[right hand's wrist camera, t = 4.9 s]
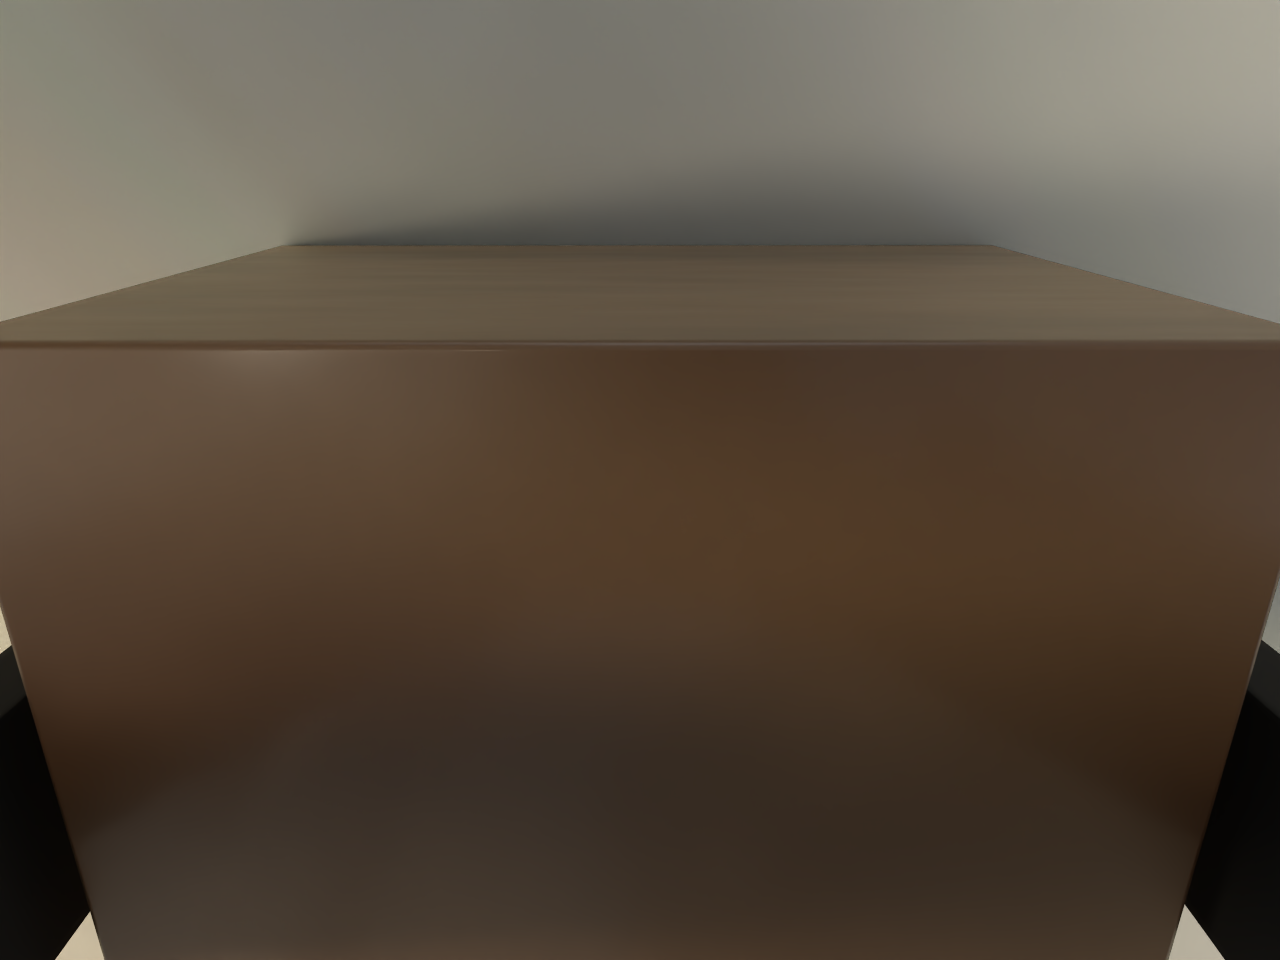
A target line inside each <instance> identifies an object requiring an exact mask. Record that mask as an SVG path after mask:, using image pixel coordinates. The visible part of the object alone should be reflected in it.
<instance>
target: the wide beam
mask: <svg viewBox="0 0 1280 960" xmlns="http://www.w3.org/2000/svg"><path fill="white" fill-rule="evenodd" d="M1279 577H1280V324H1278V323H1274V322H1271V321H1267V320H1263V319H1260V318H1256V317H1252V316H1249V315H1245V314H1241V313H1238V312H1234V311H1230V310H1227V309H1223V308H1219V307H1216V306H1212V305H1208V304H1205V303H1201V302H1197V301H1194V300H1190V299H1186V298H1183V297H1179V296H1175V295H1172V294H1168V293H1164V292H1161V291H1157V290H1153V289H1150V288H1146V287H1142V286H1139V285H1135V284H1131V283H1128V282H1124V281H1120V280H1117V279H1113V278H1109V277H1106V276H1102V275H1098V274H1095V273H1091V272H1087V271H1084V270H1080V269H1076V268H1073V267H1069V266H1065V265H1062V264H1058V263H1054V262H1051V261H1047V260H1043V259H1040V258H1036V257H1032V256H1029V255H1025V254H1021V253H1018V252H1014V251H1010V250H1007V249H1003V248H1000V247H996V246H992V245H633V246H632V245H631V246H279V247H275V248H272V249H268V250H264V251H261V252H257V253H253V254H249V255H246V256H242V257H238V258H235V259H231V260H227V261H224V262H220V263H216V264H213V265H209V266H205V267H201V268H198V269H194V270H190V271H187V272H183V273H179V274H176V275H172V276H168V277H165V278H161V279H157V280H154V281H150V282H146V283H142V284H139V285H135V286H131V287H128V288H124V289H120V290H117V291H113V292H109V293H106V294H102V295H98V296H94V297H91V298H87V299H83V300H80V301H76V302H72V303H69V304H65V305H61V306H58V307H54V308H50V309H47V310H43V311H39V312H35V313H32V314H28V315H24V316H21V317H17V318H13V319H10V320H6V321H2V322H0V607H1V610H2V614H3V617H4V620H5V624H6V627H7V631H8V634H9V637H10V641H11V644H12V648H13V651H14V654H15V658H16V661H17V664H18V668H19V671H20V675H21V678H22V681H23V685H24V688H25V692H26V695H27V698H28V702H29V705H30V709H31V712H32V715H33V719H34V722H35V726H36V729H37V732H38V736H39V739H40V742H41V746H42V749H43V753H44V756H45V759H46V763H47V766H48V770H49V773H50V776H51V780H52V783H53V787H54V790H55V793H56V797H57V800H58V804H59V807H60V810H61V814H62V817H63V820H64V824H65V827H66V831H67V834H68V837H69V841H70V844H71V848H72V851H73V854H74V858H75V861H76V865H77V868H78V871H79V875H80V878H81V882H82V885H83V888H84V892H85V895H86V898H87V902H88V905H89V909H90V912H91V915H92V919H93V922H94V926H95V929H96V932H97V936H98V939H99V943H100V946H101V949H102V953H103V956H104V960H1168V959H1169V956H1170V952H1171V949H1172V945H1173V942H1174V939H1175V935H1176V932H1177V928H1178V925H1179V921H1180V918H1181V914H1182V911H1183V908H1184V904H1185V901H1186V897H1187V894H1188V890H1189V887H1190V883H1191V880H1192V877H1193V873H1194V870H1195V866H1196V863H1197V859H1198V856H1199V853H1200V849H1201V846H1202V842H1203V839H1204V835H1205V832H1206V828H1207V825H1208V822H1209V818H1210V815H1211V811H1212V808H1213V804H1214V801H1215V798H1216V794H1217V791H1218V787H1219V784H1220V780H1221V777H1222V773H1223V770H1224V767H1225V763H1226V760H1227V756H1228V753H1229V749H1230V746H1231V743H1232V739H1233V736H1234V732H1235V729H1236V725H1237V722H1238V718H1239V715H1240V712H1241V708H1242V705H1243V701H1244V698H1245V694H1246V691H1247V687H1248V684H1249V681H1250V677H1251V674H1252V670H1253V667H1254V663H1255V660H1256V657H1257V653H1258V650H1259V646H1260V643H1261V639H1262V636H1263V632H1264V629H1265V626H1266V622H1267V619H1268V615H1269V612H1270V608H1271V605H1272V602H1273V598H1274V595H1275V591H1276V588H1277V584H1278V581H1279Z"/></svg>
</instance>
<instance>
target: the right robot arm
mask: <svg viewBox="0 0 1280 960" xmlns="http://www.w3.org/2000/svg"><path fill="white" fill-rule="evenodd" d="M1185 905H1186V906H1187V908H1188V909H1189V911H1190V912H1191V913H1192V915H1193V916H1194V918H1195V919H1196V920H1197V922H1198V923H1199V924H1200V926H1201V927H1202V929H1203V930H1204V931H1205V933H1206V934H1207V935H1208V937H1209V938H1210V940H1211V941H1212V942H1213V944H1214V945H1215V947H1216V948H1217V949H1218V951H1219V952H1220V953H1221V955H1222V956H1223V958H1224V959H1225V960H1280V654H1279V653H1278V652H1276V651H1275V650H1274V649H1273V648H1271V647H1270V646H1269V645H1268V644H1266V643H1265V642H1264V641H1262V640H1261V643H1260V646H1259V650H1258V653H1257V657H1256V660H1255V663H1254V667H1253V670H1252V674H1251V677H1250V681H1249V684H1248V687H1247V691H1246V694H1245V698H1244V701H1243V705H1242V708H1241V712H1240V715H1239V718H1238V722H1237V725H1236V729H1235V732H1234V736H1233V739H1232V743H1231V746H1230V749H1229V753H1228V756H1227V760H1226V763H1225V767H1224V770H1223V773H1222V777H1221V780H1220V784H1219V787H1218V791H1217V794H1216V798H1215V801H1214V804H1213V808H1212V811H1211V815H1210V818H1209V822H1208V825H1207V828H1206V832H1205V835H1204V839H1203V842H1202V846H1201V849H1200V853H1199V856H1198V859H1197V863H1196V866H1195V870H1194V873H1193V877H1192V880H1191V883H1190V887H1189V890H1188V894H1187V897H1186V901H1185ZM89 912H90V909H89V905H88V902H87V898H86V895H85V892H84V888H83V885H82V882H81V878H80V875H79V871H78V868H77V865H76V861H75V858H74V854H73V851H72V848H71V844H70V841H69V837H68V834H67V831H66V827H65V824H64V820H63V817H62V814H61V810H60V807H59V804H58V800H57V797H56V793H55V790H54V787H53V783H52V780H51V776H50V773H49V770H48V766H47V763H46V759H45V756H44V753H43V749H42V746H41V742H40V739H39V736H38V732H37V729H36V726H35V722H34V719H33V715H32V712H31V709H30V705H29V702H28V698H27V695H26V692H25V688H24V685H23V681H22V678H21V675H20V671H19V668H18V664H17V661H16V658H15V654H14V651H13V648H12V645H11V646H10V647H9V648H7V649H6V650H5V651H4V652H2V653H1V654H0V960H55V959H56V958H57V956H58V955H59V953H60V952H61V951H62V949H63V948H64V947H65V945H66V944H67V942H68V941H69V940H70V938H71V937H72V935H73V934H74V933H75V931H76V930H77V929H78V927H79V926H80V924H81V923H82V922H83V920H84V919H85V918H86V916H87V915H88V913H89Z"/></svg>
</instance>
